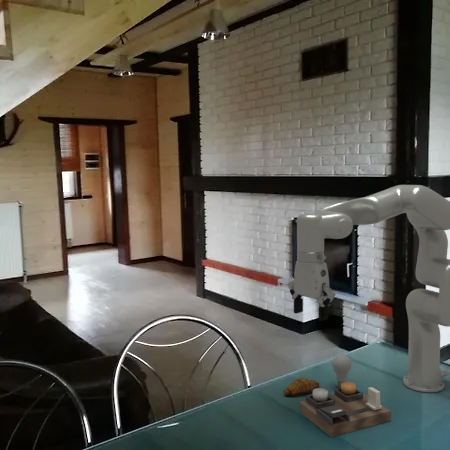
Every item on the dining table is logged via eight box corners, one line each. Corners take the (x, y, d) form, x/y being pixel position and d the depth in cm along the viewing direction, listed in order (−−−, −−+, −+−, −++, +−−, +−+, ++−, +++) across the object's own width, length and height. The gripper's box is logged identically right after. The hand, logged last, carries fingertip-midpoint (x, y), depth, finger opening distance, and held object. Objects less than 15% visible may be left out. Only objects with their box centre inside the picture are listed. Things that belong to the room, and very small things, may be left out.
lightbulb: (351, 392, 160) (351, 358, 159) (332, 391, 161) (332, 358, 160) (350, 384, 166) (351, 352, 165) (332, 383, 167) (331, 351, 166)
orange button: (349, 386, 153) (349, 380, 153) (359, 392, 149) (359, 386, 149) (337, 389, 152) (337, 383, 151) (346, 395, 148) (346, 389, 147)
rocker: (333, 408, 141) (332, 405, 141) (346, 414, 136) (345, 410, 136) (319, 412, 139) (319, 408, 139) (332, 418, 134) (332, 413, 134)
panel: (354, 398, 156) (354, 383, 156) (390, 420, 141) (390, 404, 141) (298, 411, 148) (298, 396, 148) (330, 437, 134) (330, 420, 133)
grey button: (322, 392, 149) (322, 387, 149) (331, 398, 145) (331, 392, 145) (309, 395, 148) (309, 390, 147) (318, 401, 144) (318, 395, 143)
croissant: (291, 401, 155) (291, 386, 155) (279, 393, 161) (278, 378, 161) (325, 391, 162) (325, 376, 161) (312, 384, 168) (312, 369, 167)
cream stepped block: (373, 403, 145) (373, 386, 145) (382, 408, 142) (382, 391, 142) (365, 405, 144) (365, 388, 144) (374, 410, 141) (374, 393, 140)
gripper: (343, 259, 138) (343, 320, 140) (298, 252, 152) (298, 307, 153) (324, 262, 133) (324, 325, 135) (279, 255, 147) (280, 312, 149)
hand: (310, 316), depth 144 cm, fingers open, 9 cm apart
